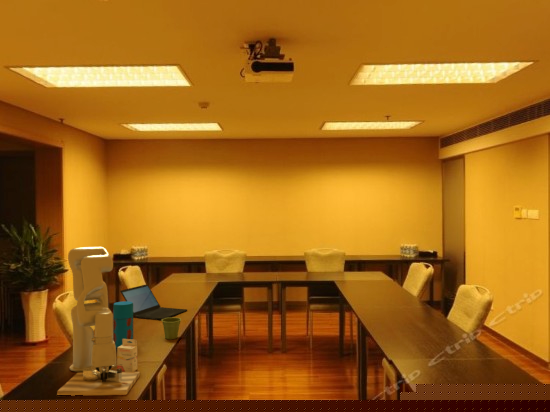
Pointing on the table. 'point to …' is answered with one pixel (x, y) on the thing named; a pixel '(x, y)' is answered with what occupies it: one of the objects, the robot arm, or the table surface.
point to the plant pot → (171, 327)
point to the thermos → (122, 322)
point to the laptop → (147, 304)
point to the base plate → (98, 385)
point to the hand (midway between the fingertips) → (103, 380)
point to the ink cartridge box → (127, 356)
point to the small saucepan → (95, 375)
